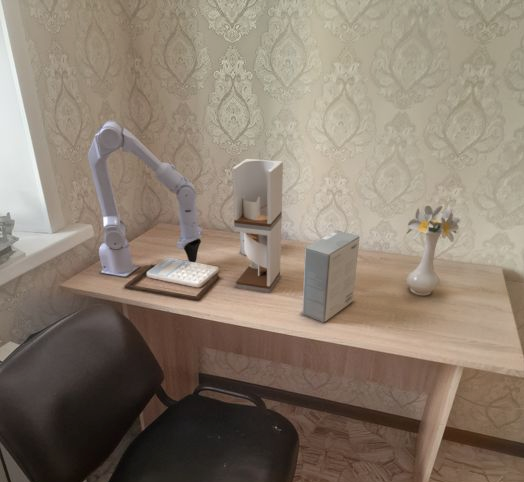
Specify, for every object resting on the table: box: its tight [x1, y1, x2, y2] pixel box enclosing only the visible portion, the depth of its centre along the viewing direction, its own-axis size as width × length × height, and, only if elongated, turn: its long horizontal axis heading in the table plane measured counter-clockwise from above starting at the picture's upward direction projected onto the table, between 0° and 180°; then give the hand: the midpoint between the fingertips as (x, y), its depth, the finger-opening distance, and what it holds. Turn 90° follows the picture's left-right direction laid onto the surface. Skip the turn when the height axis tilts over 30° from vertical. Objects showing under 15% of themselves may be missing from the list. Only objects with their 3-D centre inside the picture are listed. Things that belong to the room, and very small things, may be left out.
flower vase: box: [406, 205, 461, 297], centre depth 133 cm, size 13×18×25 cm
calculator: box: [146, 257, 220, 288], centre depth 149 cm, size 13×20×2 cm, turn 67°
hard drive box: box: [302, 229, 360, 323], centre depth 126 cm, size 16×8×20 cm, turn 141°
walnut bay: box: [123, 264, 221, 302], centre depth 144 cm, size 25×16×1 cm, turn 71°
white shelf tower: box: [231, 158, 284, 293], centre depth 135 cm, size 11×11×35 cm
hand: (192, 261), depth 154 cm, fingers closed
